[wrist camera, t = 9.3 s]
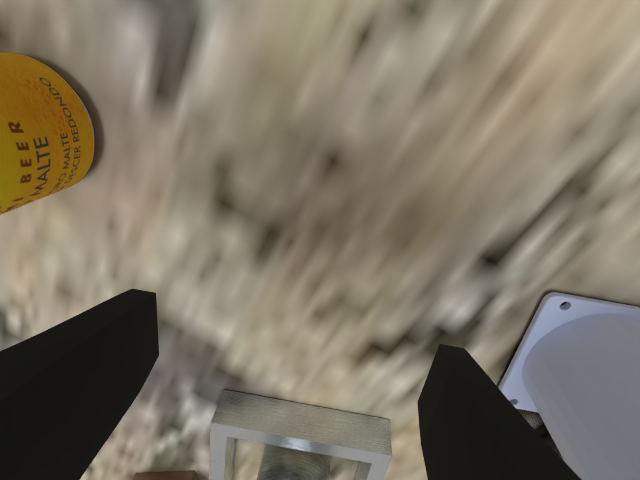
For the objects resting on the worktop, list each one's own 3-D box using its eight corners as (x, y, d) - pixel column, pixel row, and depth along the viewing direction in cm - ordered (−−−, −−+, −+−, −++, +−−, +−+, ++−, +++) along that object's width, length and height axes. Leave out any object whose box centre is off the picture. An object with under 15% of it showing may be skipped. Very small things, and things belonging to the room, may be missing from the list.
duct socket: (388, 419, 24) (392, 455, 22) (354, 518, 29) (354, 557, 27) (224, 389, 24) (210, 422, 22) (218, 493, 29) (207, 529, 27)
